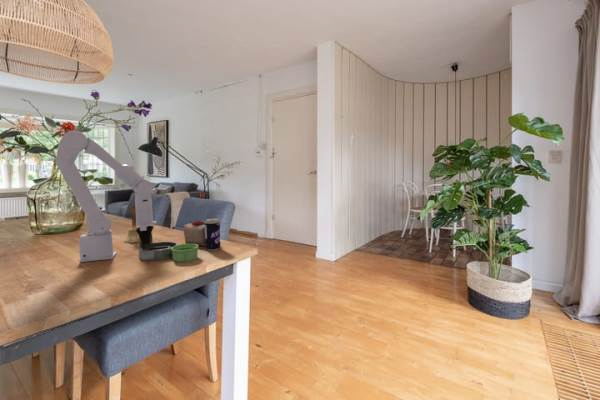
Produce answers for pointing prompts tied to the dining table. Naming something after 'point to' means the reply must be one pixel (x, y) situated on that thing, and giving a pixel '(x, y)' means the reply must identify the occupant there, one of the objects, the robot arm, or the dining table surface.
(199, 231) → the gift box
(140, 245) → the tan wooden block
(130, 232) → the hand bell
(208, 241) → the beverage can
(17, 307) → the dining table surface
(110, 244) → the robot arm
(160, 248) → the grey metal bowl
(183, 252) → the ramekin
